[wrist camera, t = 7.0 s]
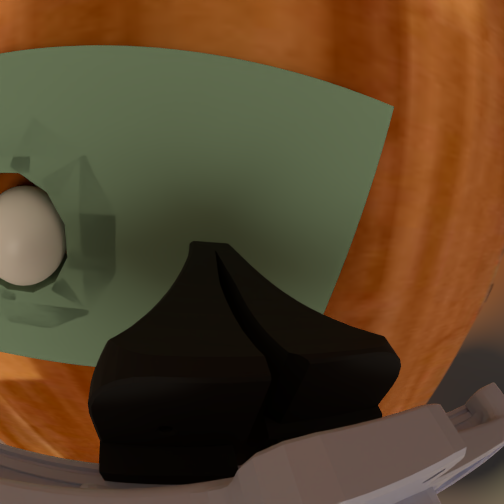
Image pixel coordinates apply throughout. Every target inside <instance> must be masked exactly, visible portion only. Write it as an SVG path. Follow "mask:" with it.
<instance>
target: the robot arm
mask: <svg viewBox="0 0 504 504" xmlns="http://www.w3.org/2000/svg"><path fill="white" fill-rule="evenodd" d="M400 368H401V363H400V359H399V357H398V356H397V354H396V353H395V351H394V350H393V348H392V347H391V346H390V344H389V343H388V341H387V340H386V338H385V337H384V336H381V335H378V334H374V333H371V332H368V331H364V330H361V329H358V328H355V327H352V326H349V325H347V324H344V323H342V322H339V321H337V320H334V319H332V318H330V317H327V316H325V315H323V314H321V313H319V312H317V311H315V310H313V309H311V308H309V307H308V306H306V305H304V304H302V303H300V302H299V301H297V300H296V299H294V298H292V297H291V296H289V295H288V294H286V293H285V292H283V291H282V290H280V289H279V288H278V287H276V286H275V285H274V284H272V283H271V282H270V281H269V280H267V279H266V278H265V277H264V276H263V275H261V274H260V273H259V272H258V271H257V270H256V269H255V268H253V267H252V266H251V265H250V264H249V263H248V262H247V261H246V260H245V259H244V258H243V257H242V256H241V255H240V254H239V253H238V252H237V251H236V250H235V249H234V248H233V247H231V246H230V245H229V244H228V243H216V242H203V241H192V242H191V243H190V244H189V253H188V257H187V259H186V262H185V264H184V266H183V268H182V270H181V272H180V273H179V275H178V277H177V278H176V280H175V282H174V283H173V285H172V286H171V287H170V289H169V290H168V291H167V293H166V294H165V295H164V296H163V298H162V299H161V300H160V301H159V302H158V303H157V304H156V305H155V306H154V307H153V308H152V309H151V310H150V311H149V312H148V313H147V314H146V315H144V316H143V317H142V318H141V319H140V320H138V321H137V322H136V323H135V324H133V325H132V326H131V327H129V328H128V329H126V330H125V331H123V332H121V333H120V334H118V335H116V336H115V337H113V338H111V339H109V340H108V341H107V343H106V345H105V347H104V349H103V351H102V353H101V355H100V357H99V360H98V362H97V365H96V367H95V370H94V373H93V377H92V380H91V386H90V392H89V399H88V408H89V414H90V416H91V419H92V422H93V424H94V427H95V429H96V432H97V434H98V437H99V439H100V454H99V464H96V463H89V462H82V461H75V460H69V459H64V458H58V457H53V456H48V455H44V454H39V453H35V452H31V451H26V450H23V449H19V448H15V447H11V446H8V445H4V444H1V443H0V504H441V502H440V500H439V498H438V496H437V493H439V492H441V491H442V490H444V489H446V488H447V487H449V486H450V485H452V484H454V483H455V482H456V481H458V480H459V479H461V478H463V477H464V476H466V475H467V474H468V473H470V472H471V471H473V470H474V469H476V468H477V467H478V466H480V465H481V464H482V463H484V462H485V461H486V460H488V459H489V458H490V457H491V456H492V455H493V454H495V453H496V452H497V451H498V450H499V449H501V448H502V447H503V446H504V395H503V393H502V392H501V390H500V389H499V388H498V387H497V385H496V384H495V383H491V384H489V385H487V386H485V387H483V388H481V389H479V390H478V391H477V392H475V393H474V394H473V395H472V396H471V397H470V399H469V400H468V401H467V402H466V405H463V406H461V407H459V408H457V409H455V410H452V411H450V412H448V413H445V411H444V410H443V408H442V407H441V405H440V404H429V405H421V406H418V407H415V408H412V409H409V410H405V411H402V412H399V413H396V414H392V415H389V416H385V417H382V412H381V411H380V409H379V407H378V404H379V403H380V401H381V400H382V399H383V398H384V396H385V395H386V394H387V392H388V391H389V390H390V388H391V387H392V386H393V384H394V382H395V381H396V379H397V377H398V375H399V371H400ZM381 417H382V418H381Z"/></svg>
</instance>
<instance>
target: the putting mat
mask: <svg viewBox="0 0 504 504" xmlns="http://www.w3.org/2000/svg"><path fill="white" fill-rule="evenodd" d="M393 109H394V107H393V106H391V105H388V104H386V103H383V102H381V101H379V100H376V99H374V98H371V97H368V96H366V95H363V94H360V93H358V92H355V91H352V90H349V89H347V88H344V87H341V86H338V85H335V84H332V83H329V82H326V81H322V80H319V79H316V78H313V77H309V76H306V75H302V74H299V73H295V72H292V71H288V70H284V69H280V68H276V67H272V66H268V65H263V64H259V63H255V62H250V61H245V60H240V59H235V58H230V57H224V56H218V55H212V54H205V53H199V52H191V51H183V50H174V49H164V48H152V47H137V46H102V45H98V46H64V47H50V48H39V49H29V50H21V51H14V52H7V53H1V54H0V173H20V174H21V175H23V176H24V177H25V178H27V179H28V180H30V181H31V182H33V183H34V184H35V185H37V186H38V187H40V188H41V189H43V190H44V191H46V192H47V194H48V195H49V197H50V199H51V201H52V203H53V205H54V206H55V208H56V210H57V212H58V214H59V215H60V217H61V219H62V221H63V222H64V224H65V235H66V249H67V253H66V254H65V255H64V257H63V260H62V262H61V263H60V265H59V267H58V268H57V269H56V270H55V271H54V272H53V273H52V274H51V275H50V276H49V277H48V278H46V279H45V280H43V281H41V282H39V283H36V284H33V285H26V286H21V285H15V284H11V283H9V282H6V281H5V280H3V279H1V278H0V351H1V352H5V353H10V354H15V355H20V356H25V357H31V358H37V359H43V360H49V361H55V362H62V363H69V364H77V365H85V366H94V367H96V365H97V362H98V360H99V357H100V355H101V353H102V351H103V349H104V347H105V345H106V343H107V341H108V340H109V339H111V338H113V337H115V336H116V335H118V334H120V333H121V332H123V331H125V330H126V329H128V328H129V327H131V326H132V325H133V324H135V323H136V322H137V321H138V320H140V319H141V318H142V317H143V316H144V315H146V314H147V313H148V312H149V311H150V310H151V309H152V308H153V307H154V306H155V305H156V304H157V303H158V302H159V301H160V300H161V299H162V298H163V296H164V295H165V294H166V293H167V291H168V290H169V289H170V287H171V286H172V285H173V283H174V282H175V280H176V278H177V277H178V275H179V273H180V272H181V270H182V268H183V266H184V264H185V262H186V259H187V257H188V253H189V244H190V243H191V242H192V241H203V242H216V243H228V244H229V245H230V246H231V247H233V248H234V249H235V250H236V251H237V252H238V253H239V254H240V255H241V256H242V257H243V258H244V259H245V260H246V261H247V262H248V263H249V264H250V265H251V266H252V267H253V268H255V269H256V270H257V271H258V272H259V273H260V274H261V275H263V276H264V277H265V278H266V279H267V280H269V281H270V282H271V283H272V284H274V285H275V286H276V287H278V288H279V289H280V290H282V291H283V292H285V293H286V294H288V295H289V296H291V297H292V298H294V299H296V300H297V301H299V302H300V303H302V304H304V305H306V306H308V307H309V308H311V309H313V310H315V311H317V312H319V313H321V314H323V313H324V311H325V309H326V306H327V304H328V301H329V299H330V297H331V294H332V292H333V289H334V287H335V284H336V282H337V279H338V277H339V274H340V272H341V269H342V266H343V264H344V261H345V259H346V256H347V253H348V251H349V248H350V245H351V243H352V240H353V237H354V234H355V231H356V229H357V226H358V223H359V220H360V217H361V214H362V212H363V209H364V206H365V203H366V200H367V197H368V194H369V191H370V188H371V184H372V181H373V178H374V175H375V172H376V169H377V165H378V162H379V159H380V155H381V152H382V149H383V145H384V142H385V138H386V135H387V131H388V127H389V124H390V120H391V116H392V112H393Z"/></svg>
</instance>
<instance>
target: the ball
mask: <svg viewBox="0 0 504 504" xmlns="http://www.w3.org/2000/svg"><path fill="white" fill-rule="evenodd" d="M65 252H66V235H65V224H64V222H63V221H62V219H61V217H60V215H59V214H58V212H57V210H56V208H55V206H54V205H53V203H52V201H51V199H50V197H49V195H48V194H47V192H46V191H44V190H43V189H41V188H38V187H34V186H27V185H23V186H17V187H13V188H10V189H8V190H6V191H5V192H3V193H2V194H0V278H1V279H3V280H5V281H6V282H9V283H11V284H15V285H21V286H26V285H33V284H36V283H39V282H41V281H43V280H45V279H46V278H48V277H49V276H50V275H51V274H52V273H53V272H54V271H55V270H56V269H57V268H58V267H59V265H60V263H61V262H62V260H63V257H64V255H65Z"/></svg>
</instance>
